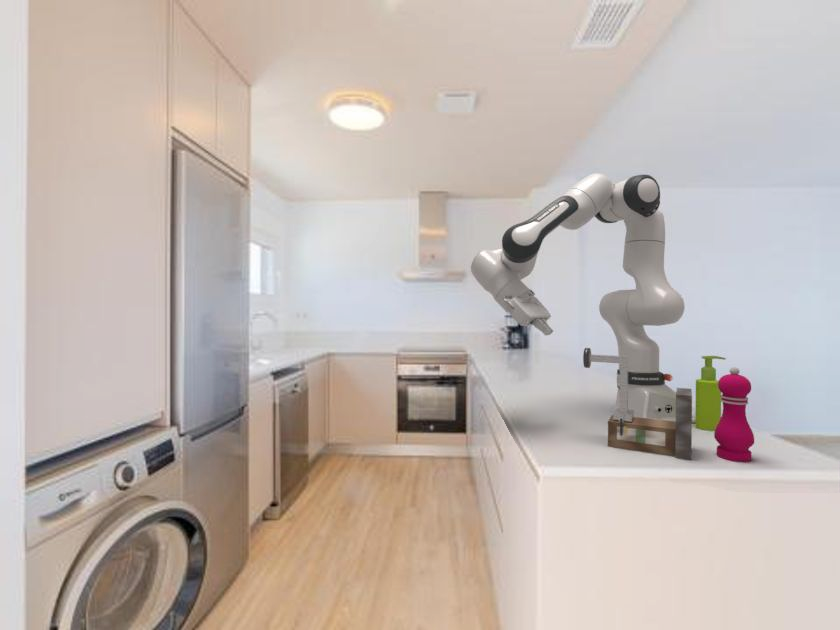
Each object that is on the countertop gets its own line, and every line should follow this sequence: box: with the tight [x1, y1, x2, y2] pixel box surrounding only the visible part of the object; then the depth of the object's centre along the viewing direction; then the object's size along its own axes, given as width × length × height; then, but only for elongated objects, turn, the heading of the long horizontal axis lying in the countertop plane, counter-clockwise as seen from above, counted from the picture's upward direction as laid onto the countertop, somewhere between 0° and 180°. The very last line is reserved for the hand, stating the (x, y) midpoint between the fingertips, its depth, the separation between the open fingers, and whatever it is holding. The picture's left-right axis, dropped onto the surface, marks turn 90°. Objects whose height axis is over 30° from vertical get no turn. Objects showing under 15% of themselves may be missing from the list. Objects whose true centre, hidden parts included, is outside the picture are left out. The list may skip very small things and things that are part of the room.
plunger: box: [582, 347, 634, 436], centre depth 107 cm, size 11×8×20 cm
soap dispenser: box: [694, 355, 727, 432], centre depth 121 cm, size 6×7×20 cm
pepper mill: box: [714, 366, 755, 463], centre depth 97 cm, size 7×7×20 cm
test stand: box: [607, 387, 693, 461], centre depth 103 cm, size 17×10×14 cm, turn 59°
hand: (550, 333), depth 115 cm, fingers closed
